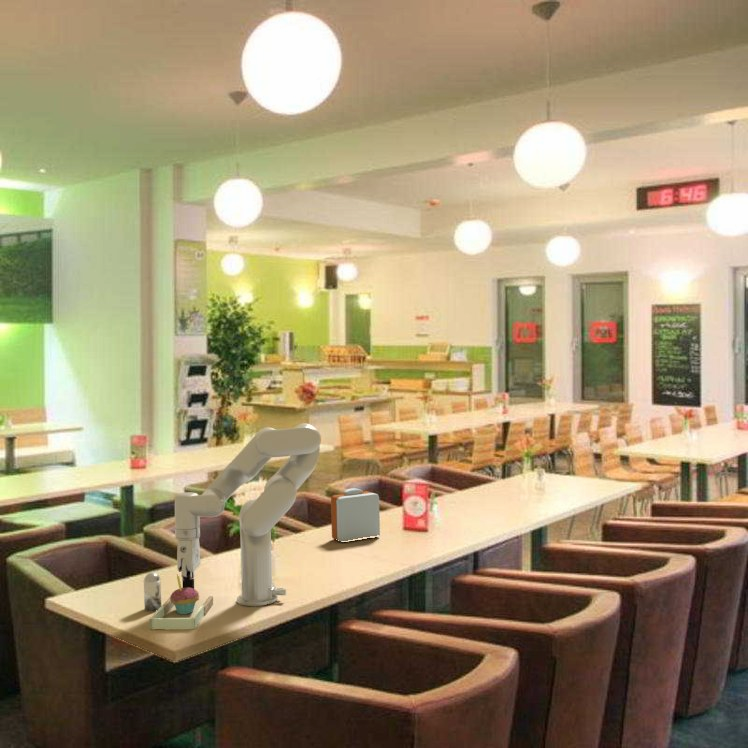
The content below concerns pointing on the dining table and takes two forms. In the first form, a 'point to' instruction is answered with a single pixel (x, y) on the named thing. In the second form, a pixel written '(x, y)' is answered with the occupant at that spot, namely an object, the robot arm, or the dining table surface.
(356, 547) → the dining table surface
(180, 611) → the cupcake
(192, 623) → the tray
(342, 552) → the dining table surface
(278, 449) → the robot arm
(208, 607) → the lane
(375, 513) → the grey suitcase
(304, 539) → the dining table surface
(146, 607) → the glass dome
